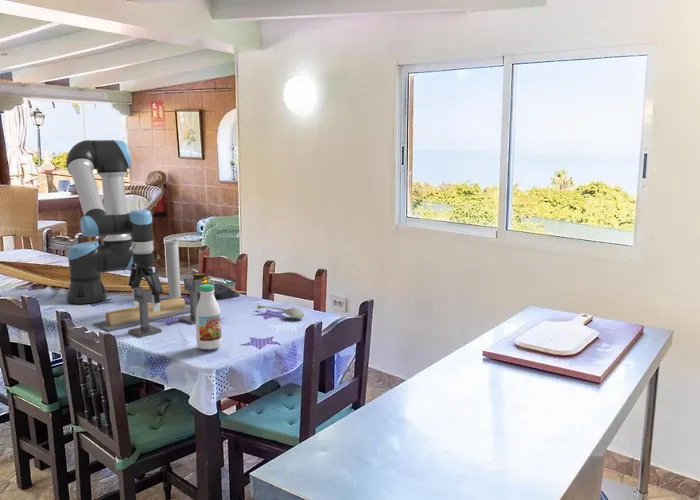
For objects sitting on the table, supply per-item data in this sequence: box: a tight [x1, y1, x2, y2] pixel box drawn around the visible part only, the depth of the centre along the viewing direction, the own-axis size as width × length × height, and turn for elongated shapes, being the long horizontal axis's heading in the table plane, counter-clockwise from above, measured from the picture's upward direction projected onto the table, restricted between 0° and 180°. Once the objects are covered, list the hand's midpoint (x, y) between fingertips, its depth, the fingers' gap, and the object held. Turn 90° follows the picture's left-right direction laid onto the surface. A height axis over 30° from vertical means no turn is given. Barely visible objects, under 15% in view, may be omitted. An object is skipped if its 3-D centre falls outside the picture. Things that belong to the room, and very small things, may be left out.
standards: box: [127, 277, 202, 338], centre depth 214 cm, size 8×28×15 cm, turn 138°
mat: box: [92, 305, 190, 333], centre depth 226 cm, size 12×36×1 cm, turn 138°
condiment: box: [186, 272, 208, 306], centre depth 246 cm, size 7×8×12 cm
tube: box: [165, 239, 182, 299], centre depth 251 cm, size 5×5×25 cm
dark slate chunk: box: [207, 282, 240, 301], centre depth 262 cm, size 15×22×5 cm
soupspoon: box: [256, 304, 305, 319], centre depth 232 cm, size 22×3×7 cm
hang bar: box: [104, 297, 186, 326], centre depth 225 cm, size 4×30×4 cm, turn 138°
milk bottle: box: [195, 283, 222, 350], centre depth 192 cm, size 8×8×20 cm
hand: (146, 308), depth 225 cm, fingers open, 13 cm apart
